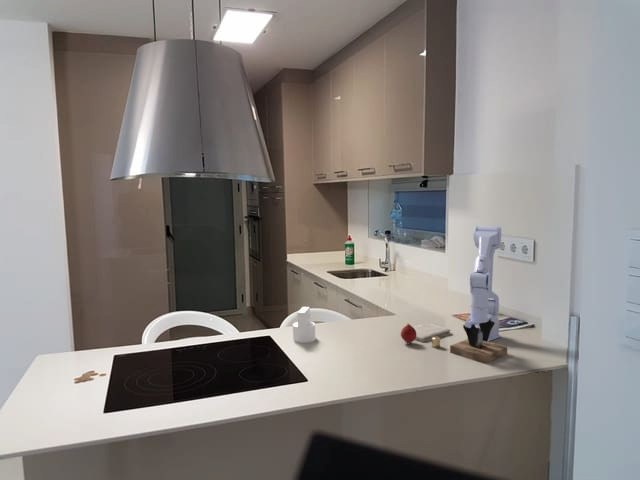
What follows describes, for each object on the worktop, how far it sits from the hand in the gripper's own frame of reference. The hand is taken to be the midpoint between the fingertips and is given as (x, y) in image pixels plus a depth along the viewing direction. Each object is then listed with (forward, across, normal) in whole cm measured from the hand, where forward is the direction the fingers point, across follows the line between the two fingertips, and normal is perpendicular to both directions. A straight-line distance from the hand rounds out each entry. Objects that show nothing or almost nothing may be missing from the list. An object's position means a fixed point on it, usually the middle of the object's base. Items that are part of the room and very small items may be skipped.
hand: (478, 343), depth 160 cm
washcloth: (+4, -3, -26) cm, 26 cm away
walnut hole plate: (+4, 0, 0) cm, 4 cm away
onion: (+4, +11, -23) cm, 26 cm away
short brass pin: (+4, +6, -14) cm, 16 cm away
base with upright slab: (+4, +38, -54) cm, 66 cm away
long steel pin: (+4, 0, 0) cm, 4 cm away
